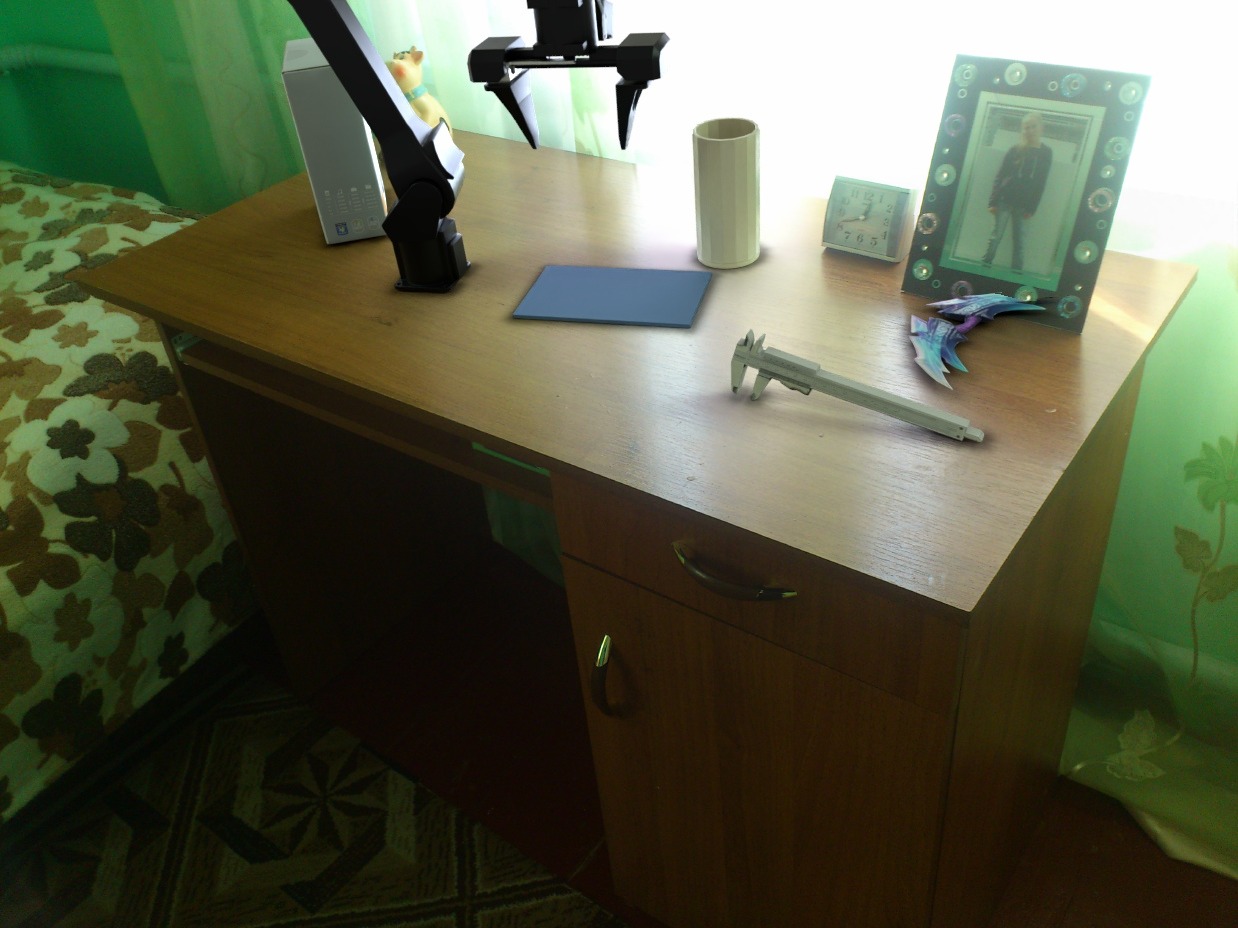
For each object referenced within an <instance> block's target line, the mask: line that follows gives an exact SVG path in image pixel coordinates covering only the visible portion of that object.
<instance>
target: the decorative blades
mask: <svg viewBox="0 0 1238 928" xmlns="http://www.w3.org/2000/svg"><path fill="white" fill-rule="evenodd" d="M995 293H996V292H995ZM995 293H988V294H987V293H986V294H978V295H963V296H962V297H963V298H964V299H960V298H953V299H948V300H941V301H936V302H932V303H927V304H925V306H926V307H927V306H928V307H933V308H937V309H941V310H939V311H937V313H938V314H941V315H943V316H944V317H945V318H948V319H951V320H954V321H957V322H958V321H959V322H964V323H962V324H959V325H955V324H953V323H952V322H950V321H948V320H945V319H943V318H939V317H936V318H934V317H932V316H929V317H928V322H927V321H926V320H924V319H922V318H919V317H918V316H916V315H914V314H911V316H910V317H911V318H910V333H911V334H916V335H908V338H909V339H910V341H911V343H912V344H913V347H914V349H915V352H916V357H914V358H912V360H913V361H914V362H915V363H916V364H917V365H918V366H919V367H920V368H921V369H922V371H924V373H926V374H927V375H928V376H930V378H932V379H933V380H934V381H936V382H938V383H939V384H941V385H943V386H945V387H946V388H948V389H950V390H951V391H954V388H953V387H952V386H951V384H950V383H949V382H948V381H947V379H946V377H945V375H944V373H947V374H951V372H950V371H949V370H948V369H947V368H946V366H945V364H944V362H945V363H947V364H948V365H950V366H952V367H954V368H955V369H958V370H960V371H962V372H966V373H969V370H968V369H967V368H966V367H965V365H964V364H963V363H962V361H961V359H959V358H958V356H957V353H956V349H955V347H956V346H957V344H959V343H961V342H968V341H969V338H967V336H966V335H965V334H966V333H968V332H969V331H971V330H972V329H973V328H974V327H976V326H977V325H978V324H979V323H981V322H982V323H984V322H994V321H995V319H994V316H995V315H997V314H999V313H1002V312H1010V311H1037V310H1038V311H1040V310H1041V311H1042V310H1043V311H1044V310H1045V311H1046V310H1047V308H1046V307H1043V306H1039V305H1035V304H1029V303H1027V302H1026V301H1023V300H1020V299H1016V298H1012V297H1008V296H1004V295H1001V294H995ZM942 359H943V360H944V362H943V361H942Z"/></svg>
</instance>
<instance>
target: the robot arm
mask: <svg viewBox="0 0 1238 928" xmlns="http://www.w3.org/2000/svg"><path fill="white" fill-rule="evenodd" d="M286 1H287V3H288V4H289V5H290V6H291V8H292V9H293V11H294V12H295V13H296V15H297V17H298V18H299V20H300V21H301V23H302V25H303V26H304V27H305V29H306V31H307V33H308V34H309V36H310V38H313V40H314V42H315V43H316V45H317V46H318V48H319V49H320V51H321V52H322V54H323V56H324V57H325V59H326V60H327V62H328V63H329V65H330V67H331V68H332V70H333V71H334V73H335V74H336V76H337V77H338V79H339V81H340V82H341V84H342V85H343V87H344V88H345V90H346V91H347V93H348V95H349V96H350V98H351V99H352V101H353V102H354V104H355V105H356V107H357V109H358V110H359V112H360V113H361V115H362V116H363V118H364V119H365V121H366V123H367V124H368V126H369V127H370V131H371V133H372V134H373V135H374V137H375V139H376V140H377V143H378V144H379V147H380V151H381V155H382V158H383V159H382V160H383V162H384V167H385V171H386V174H387V179H388V180H389V182H390V184H391V187H392V189H393V191H394V193H395V196H396V198H395V200H394V201H393V204H392V205H391V207H390V209H389V211H388V212H387V216H386V218H385V220H384V222H383V223H382V228H383V230H384V231H385V233H386V234H387V235H386V236H387V238H388V240H389V241H390V243H391V245H392V248H393V253H394V256H395V261H396V264H397V269H398V272H399V277H400V278H399V279H397V281H396V282H395V283H394V285H393V286H394V290H396V291H397V290H398V291H414V292H415V291H416V292H433V293H436V292H437V293H449V292H450V291H451V290H453V289H454V287H455V286H456V285H457V283H459V281H460V280H461V279H462V278H463V276H465V274H466V273H468V271H469V269H470V268H471V267H472V265H471V261H469V260H468V259H467V256H466V250H465V245H464V240H463V236H462V233H458V230H457V225H456V219H455V218H448V217H447V216H449V215H450V213H451V211H452V210H453V209H454V207H455V205H456V202H457V199H458V197H459V195H460V193H461V190H462V189H463V186H464V182H465V176H466V170H465V166H464V163H463V160H464V157H465V153H464V152H463V151H462V150H461V149H460V148H459V147H458V146H457V145H456V144H455V143H454V141H453V139H452V137H451V133H450V131H449V129H448V127H447V125H446V123H445V121H440V122H439V123H438V124H436V125H435V126H434V127H432V126H430V125H429V124H428V123H426V121H424V120H422V119H421V118H420V117H419V116H418V115H417V113H416V112H415V111H414V109H413V108H412V105H411V104H410V103H409V101H408V99H407V98H406V96H405V95H404V93H403V91H402V89H401V87H400V86H399V84H398V82H397V81H396V79H395V78H394V76H393V75H392V73H391V72H390V70H389V68H388V66H387V65H386V63H385V61H384V60H383V58H382V57H381V55H380V53H379V52H378V50H377V48H376V47H375V46H374V44H373V42H372V40H371V39H370V37H369V35H368V33H367V32H366V30H365V28H364V27H363V25H362V24H361V21H360V20H359V19H358V17H357V16H356V14H355V12H354V11H353V9H352V7H351V5H350V4H349V2H348V1H347V0H286ZM526 6H527V7H526V8H527V10H532V18H533V25H534V32H535V40H536V42H535V43H533V45H532V46H526V42H525V41H524V39H523V37H522V36H521V35H519V36H518V35H516V36H515V35H514V36H511V35H510V36H488V37H487V38H485V39H484V40H482V41H481V42H480V43H479V44H478V45H476V46H475V47H473V48H471V50H470V51H469V54H468V55H467V62H466V65H467V70H468V76H469V81H470V82H471V83H474V84H477V83H478V84H479V83H480V84H481V83H482V84H483V83H484V84H483V89H484V91H485V92H491V93H493V94H494V95H495V96H496V98H497V99H498V100H499V101H500V103H501V104H502V105H503V107H504V108H505V109H506V111H507V112H508V113H509V114H510V115H511V117H512V119H513V120H514V122H515V123H516V125H517V127H518V128H519V129H520V131H521V133H522V135H523V136H524V138H525V139H526V141H527V142H528V144H529V146H530V147H531V149H532V150H538V149H539V147H540V144H541V143H540V132H539V126H538V119H537V115H536V109H535V104H534V100H533V95H532V89H531V86H532V85H531V84H532V69H533V70H534V69H535V70H537V69H539V70H540V69H588V68H589V69H590V68H591V69H593V68H595V69H596V68H597V69H598V68H616V72H617V74H618V75H620V77H621V78H620V79H619V80H618V81H617V82H616V83H615V87H614V88H615V104H616V118H617V119H616V120H617V132H618V133H617V134H618V140H619V141H618V142H619V145H620V149H621V151H626V150H627V148H628V147H629V142H630V138H631V133H632V130H633V125H634V122H635V117H636V113H637V109H638V105H639V101H640V98H641V96H642V94H643V90H647V89H648V88H649V87H650V86H651V84H653V82H654V81H656V80H660V79H662V77H663V76H664V75H665V73H667V71H668V70H669V68H670V67H671V66H672V64H673V63H674V53H673V51H674V50H673V43H672V40H671V38H670V37H669V36H668V34H667V33H666V32H664V31H661V32H631V33H629V34H628V35H627V36H626V37H625V38H624V39H623V40H622V41H621V42H620V43H619V44H608V45H607V44H606V45H603V44H601V45H600V44H599V42H604V41H605V40H612V39H614V3H612V2H610V1H608V0H526ZM551 57H552V58H551Z"/></svg>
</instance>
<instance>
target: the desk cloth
mask: <svg viewBox="0 0 1238 928" xmlns="http://www.w3.org/2000/svg"><path fill="white" fill-rule="evenodd" d="M712 276H713V272H712V271H700V270H673V269H653V268H629V267H628V268H625V267H604V266H603V267H601V266H580V265H579V266H577V265H554V264H553V265H552V264H548V265H546V266H545V268H544V270H543V271H542V272H541V274H540V275H539V276H538V278H537V279H536V281H535V282H534V284H533V285H532V287H531V288H530V289H529V291H528V292H527V293H526V295H525V297H524V298H523V299H522V301H521V302H520V303H519V305H518V306H517V308H516V309H515V310H514V312H513V313H512V318H513V319H524V320H542V321H556V322H557V321H559V322H560V321H561V322H577V323H593V324H594V323H595V324H596V323H597V324H611V325H612V324H613V325H630V326H646V327H647V326H648V327H663V328H684V329H690V328H691V326H692V324H693V322H694V319H695V316H696V315H697V312H698V309H699V307H700V305H701V302H702V300H703V297H704V295H705V293H706V291H707V288H708V286H709V283H710V281H711V278H712Z"/></svg>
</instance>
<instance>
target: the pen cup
mask: <svg viewBox="0 0 1238 928" xmlns="http://www.w3.org/2000/svg"><path fill="white" fill-rule="evenodd" d="M691 140H692V143H691V144H692V160H693V161H692V164H693V185H694V186H693V188H694V212H695V232H696V233H695V235H696V255H697V256H696V257H697V259H698V261H699V262H700V263H701V264H702V265H704V266H707V267H710V268H714V269H722V270H724V269H725V270H731V269H737V268H742V267H745V266H748V265H751V264H753V263H754V262H756V261H757V260H758V259H759V257H760V254H761V253H760V252H761V128H760V124H759V123H758V122H756V121H755V120H753V119H749V118H745V117H731V116H729V117H717V118H713V119H708V120H704V121H701V122H699V123H696V125H694V126H693V127H692V128H691Z"/></svg>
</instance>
